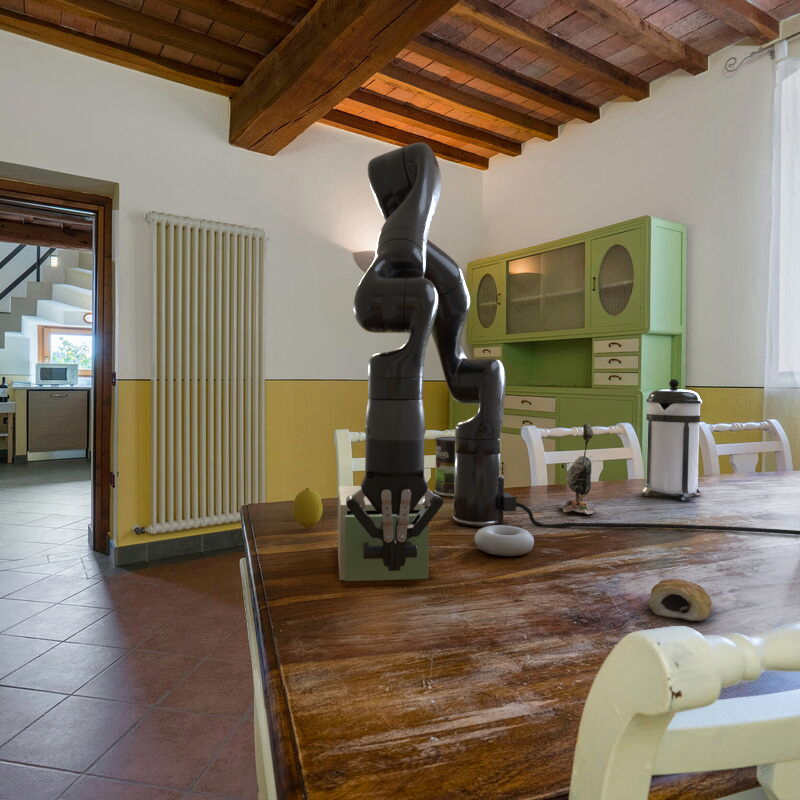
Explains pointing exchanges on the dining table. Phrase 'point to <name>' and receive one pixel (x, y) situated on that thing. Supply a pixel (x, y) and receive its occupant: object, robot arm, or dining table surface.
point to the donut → (504, 540)
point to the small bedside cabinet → (342, 511)
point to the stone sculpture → (580, 479)
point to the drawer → (367, 552)
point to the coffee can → (445, 466)
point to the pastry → (680, 600)
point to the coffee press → (673, 442)
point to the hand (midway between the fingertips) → (393, 568)
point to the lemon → (307, 508)
